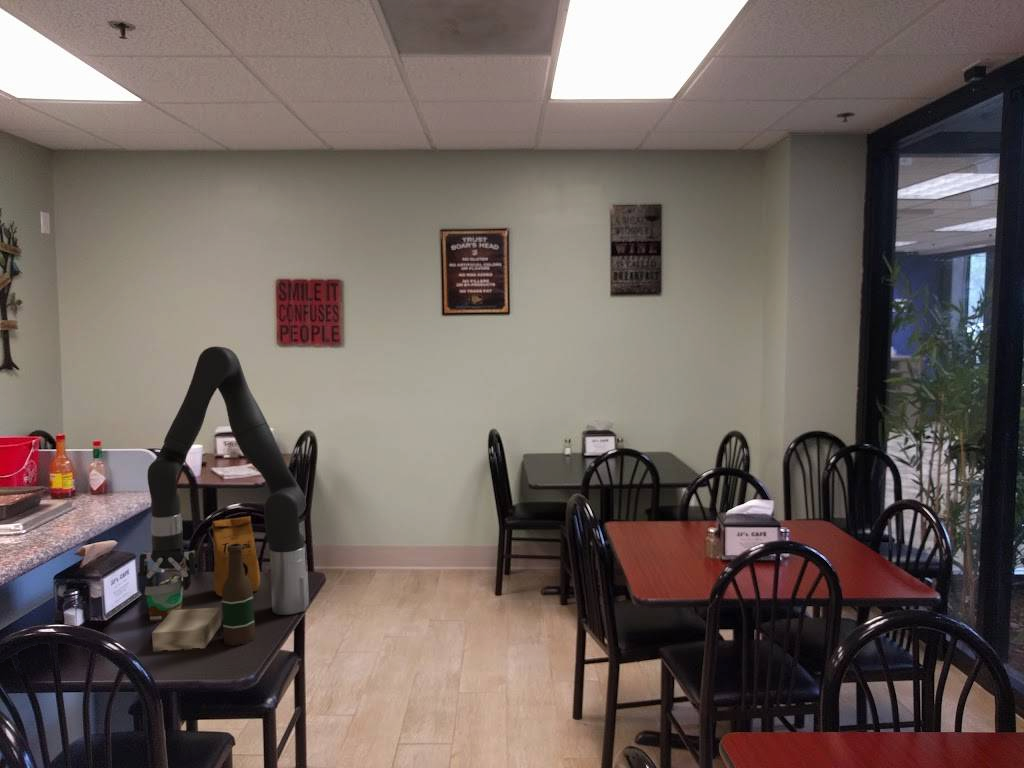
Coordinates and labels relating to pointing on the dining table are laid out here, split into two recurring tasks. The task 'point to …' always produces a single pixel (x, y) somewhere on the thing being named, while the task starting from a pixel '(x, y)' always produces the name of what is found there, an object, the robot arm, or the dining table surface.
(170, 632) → the birch block
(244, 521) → the coffee package
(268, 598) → the dining table surface
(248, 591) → the beer bottle
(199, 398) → the robot arm
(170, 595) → the food container
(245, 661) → the dining table surface
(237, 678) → the dining table surface
